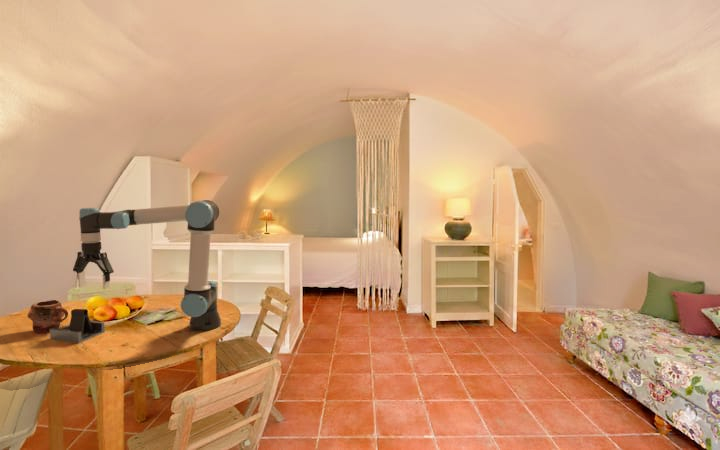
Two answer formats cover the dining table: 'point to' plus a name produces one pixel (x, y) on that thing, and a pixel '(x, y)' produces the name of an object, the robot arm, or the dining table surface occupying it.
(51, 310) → the brown clay mug
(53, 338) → the bracket
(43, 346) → the dining table surface
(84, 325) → the door stopper
